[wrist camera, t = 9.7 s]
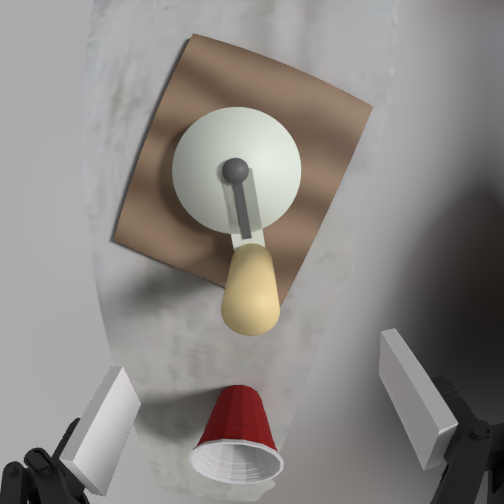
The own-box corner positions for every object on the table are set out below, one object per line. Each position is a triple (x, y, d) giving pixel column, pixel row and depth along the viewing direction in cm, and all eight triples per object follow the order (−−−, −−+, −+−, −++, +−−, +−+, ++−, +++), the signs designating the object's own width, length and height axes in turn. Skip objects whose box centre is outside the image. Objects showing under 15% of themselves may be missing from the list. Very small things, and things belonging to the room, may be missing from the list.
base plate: (194, 36, 27) (192, 32, 26) (369, 108, 29) (373, 106, 28) (117, 238, 34) (112, 241, 32) (279, 303, 36) (280, 308, 35)
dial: (167, 123, 29) (119, 108, 17) (287, 101, 28) (307, 70, 17) (200, 282, 34) (175, 344, 22) (311, 265, 33) (338, 321, 22)
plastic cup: (198, 418, 42) (185, 482, 30) (204, 365, 39) (189, 434, 27) (269, 428, 42) (272, 492, 31) (286, 377, 39) (295, 446, 28)
